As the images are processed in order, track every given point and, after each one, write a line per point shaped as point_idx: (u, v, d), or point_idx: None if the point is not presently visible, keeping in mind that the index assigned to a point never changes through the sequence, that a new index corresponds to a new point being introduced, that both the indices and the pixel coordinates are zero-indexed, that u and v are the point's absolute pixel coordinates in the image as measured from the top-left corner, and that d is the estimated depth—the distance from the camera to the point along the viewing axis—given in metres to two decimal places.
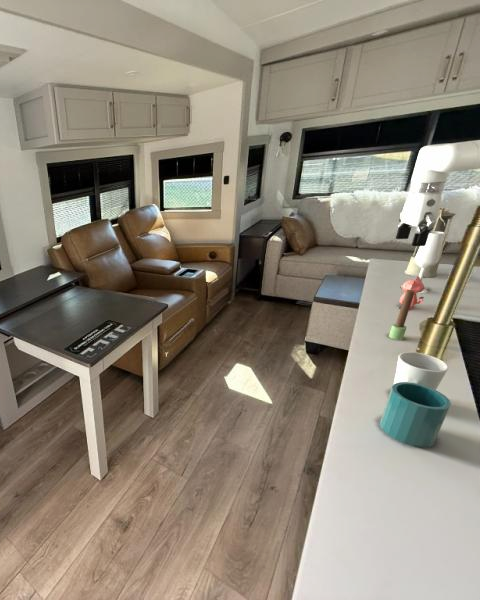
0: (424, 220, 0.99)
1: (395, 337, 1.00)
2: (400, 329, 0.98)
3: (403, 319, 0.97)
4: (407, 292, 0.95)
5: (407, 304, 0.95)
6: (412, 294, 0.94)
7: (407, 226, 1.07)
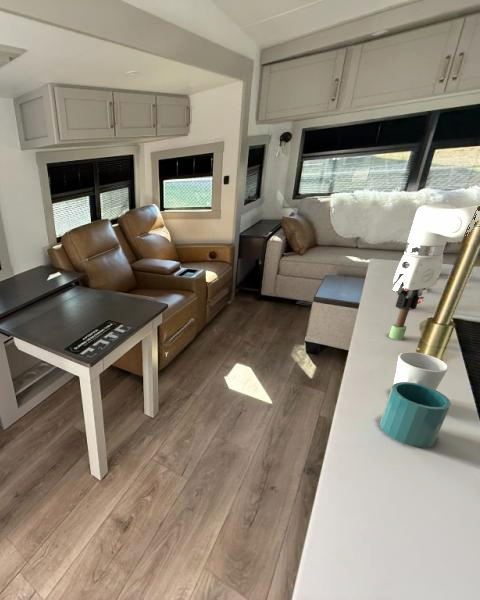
0: None
1: (395, 337, 1.00)
2: (400, 329, 0.98)
3: (403, 319, 0.97)
4: None
5: None
6: (412, 294, 0.94)
7: (414, 295, 0.95)
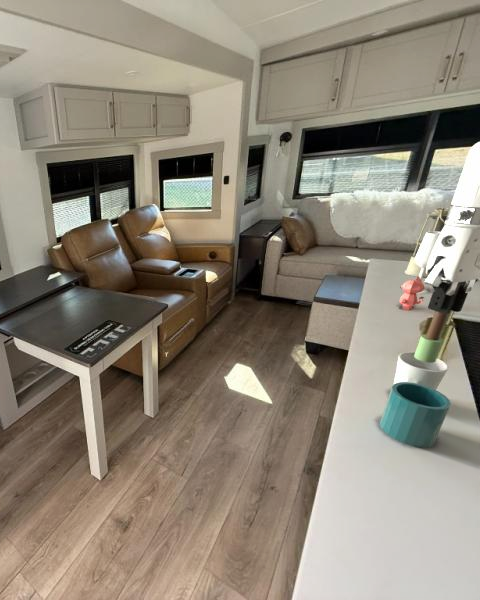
0: None
1: (426, 355, 0.65)
2: (434, 343, 0.64)
3: (439, 327, 0.63)
4: None
5: None
6: (456, 289, 0.60)
7: (458, 290, 0.60)
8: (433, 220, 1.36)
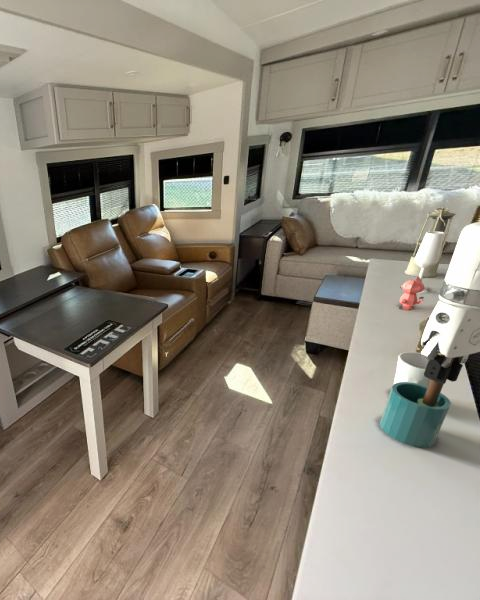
0: None
1: None
2: None
3: (435, 395, 0.63)
4: None
5: None
6: (451, 360, 0.60)
7: (453, 360, 0.61)
8: (433, 220, 1.36)
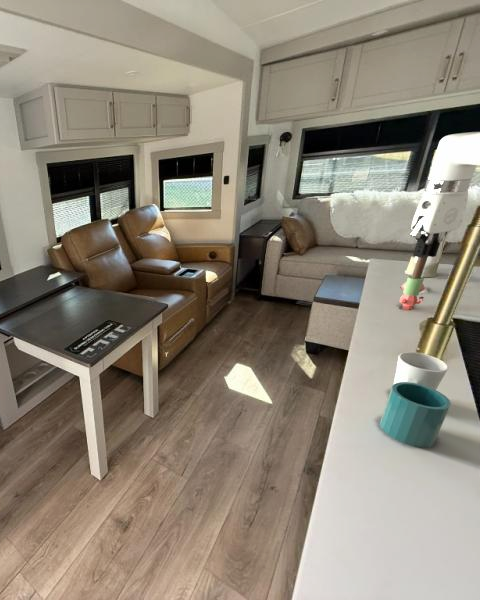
0: None
1: (411, 290, 0.91)
2: (417, 280, 0.89)
3: (420, 269, 0.89)
4: None
5: None
6: None
7: (434, 241, 0.86)
8: None
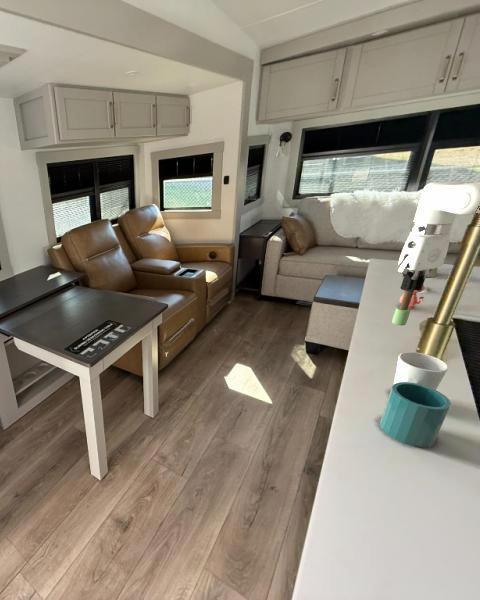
0: None
1: (399, 320, 0.98)
2: (404, 312, 0.96)
3: (407, 301, 0.95)
4: None
5: None
6: (417, 275, 0.92)
7: (419, 276, 0.93)
8: None
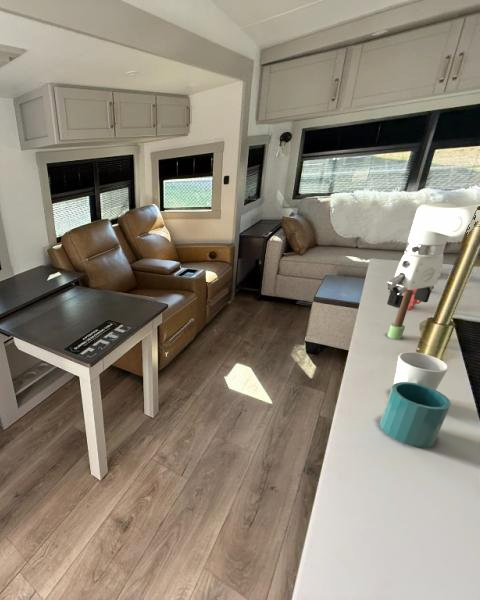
0: None
1: (394, 336, 1.00)
2: (399, 328, 0.99)
3: (401, 318, 0.98)
4: (405, 292, 0.95)
5: (406, 303, 0.96)
6: (410, 294, 0.95)
7: (425, 288, 0.95)
8: None
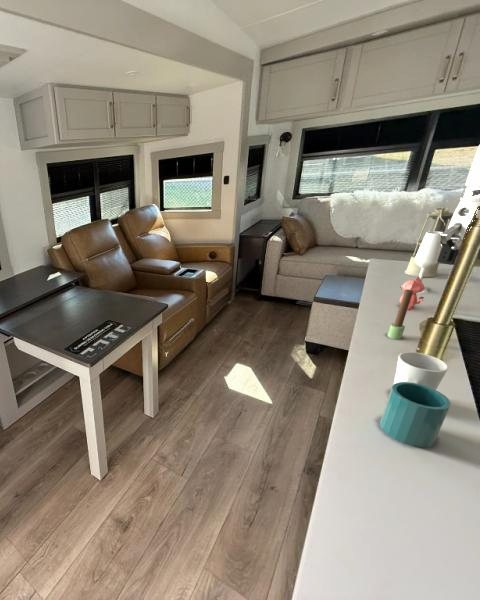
0: None
1: (394, 336, 1.00)
2: (399, 328, 0.99)
3: (401, 318, 0.98)
4: (405, 292, 0.95)
5: (406, 303, 0.96)
6: (410, 294, 0.95)
7: None
8: (433, 220, 1.36)
